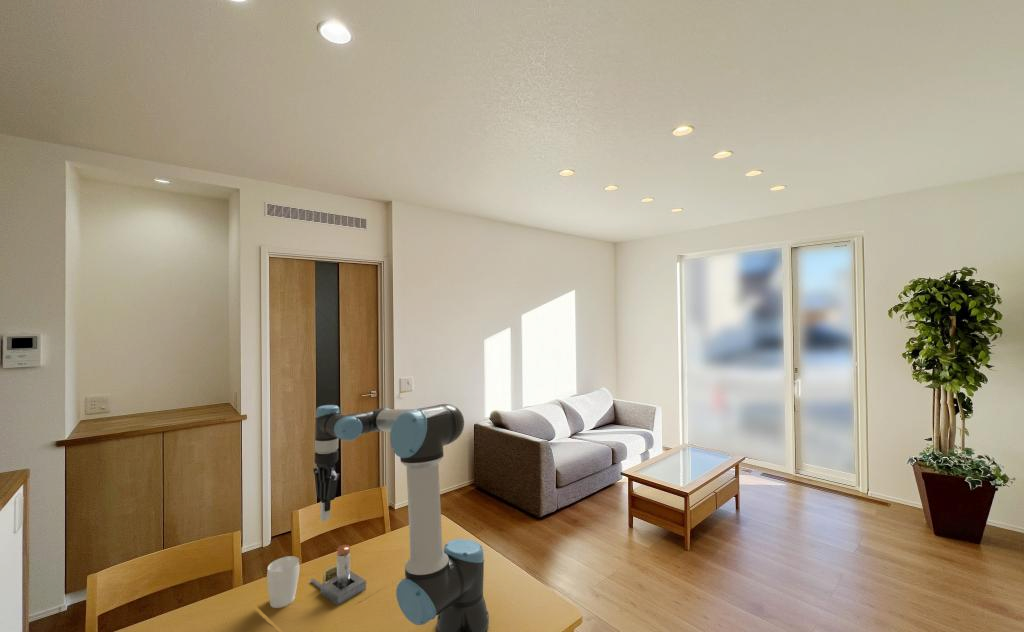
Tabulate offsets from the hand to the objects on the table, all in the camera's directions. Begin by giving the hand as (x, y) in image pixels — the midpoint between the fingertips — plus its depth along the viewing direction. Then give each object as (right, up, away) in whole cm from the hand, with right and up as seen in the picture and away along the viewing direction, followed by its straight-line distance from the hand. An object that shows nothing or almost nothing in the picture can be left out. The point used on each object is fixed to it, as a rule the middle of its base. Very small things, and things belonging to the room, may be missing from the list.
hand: (325, 519), depth 141 cm
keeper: (+4, -20, -3) cm, 20 cm away
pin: (+9, -20, -8) cm, 23 cm away
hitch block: (+7, -20, -5) cm, 22 cm away
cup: (-8, -20, -13) cm, 25 cm away
